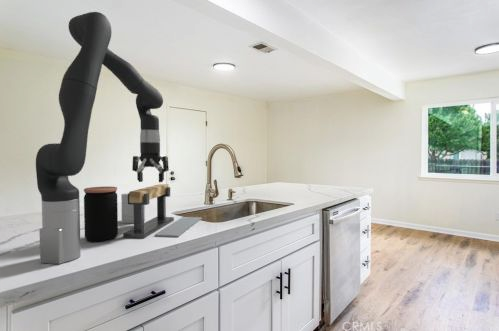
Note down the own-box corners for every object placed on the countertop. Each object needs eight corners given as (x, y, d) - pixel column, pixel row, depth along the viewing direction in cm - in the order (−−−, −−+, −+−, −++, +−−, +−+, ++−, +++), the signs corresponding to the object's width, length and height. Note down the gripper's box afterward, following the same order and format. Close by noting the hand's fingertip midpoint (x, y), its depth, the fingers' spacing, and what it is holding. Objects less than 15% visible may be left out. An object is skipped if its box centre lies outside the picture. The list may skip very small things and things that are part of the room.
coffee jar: (109, 232, 114) (108, 185, 113) (123, 237, 107) (122, 188, 106) (79, 238, 106) (78, 188, 105) (92, 244, 99) (91, 191, 98)
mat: (178, 237, 108) (178, 235, 108) (154, 236, 109) (154, 234, 109) (201, 218, 138) (201, 217, 138) (182, 218, 139) (182, 216, 139)
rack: (144, 238, 107) (143, 195, 106) (123, 237, 108) (122, 194, 107) (173, 220, 134) (173, 186, 134) (156, 219, 135) (156, 185, 135)
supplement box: (136, 223, 128) (136, 194, 128) (121, 222, 130) (120, 193, 129) (145, 219, 135) (145, 192, 135) (131, 219, 137) (130, 191, 136)
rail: (139, 203, 107) (139, 192, 107) (129, 202, 108) (129, 191, 108) (168, 193, 133) (168, 184, 133) (159, 192, 134) (159, 184, 133)
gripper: (128, 141, 116) (129, 182, 117) (163, 141, 115) (163, 183, 116) (137, 141, 124) (138, 180, 125) (170, 141, 122) (171, 181, 123)
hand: (150, 181), depth 120 cm, fingers open, 8 cm apart
